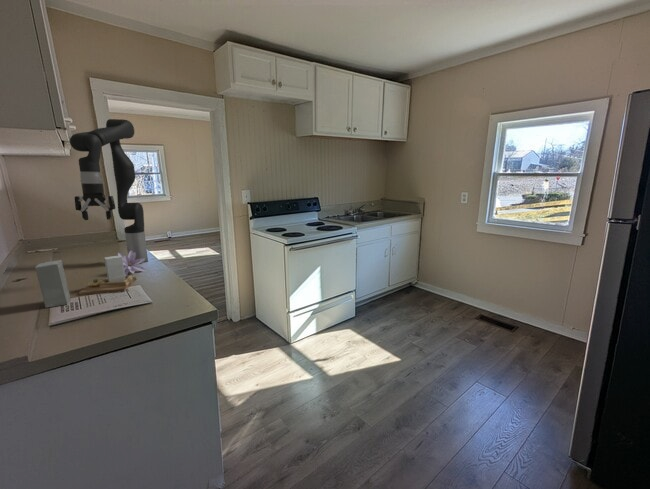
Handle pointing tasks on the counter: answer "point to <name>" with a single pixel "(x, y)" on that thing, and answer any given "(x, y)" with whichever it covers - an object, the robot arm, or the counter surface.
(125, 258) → the water lily
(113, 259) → the skincare box
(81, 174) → the robot arm
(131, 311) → the counter surface
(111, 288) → the carrier board
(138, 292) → the counter surface
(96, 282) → the brass knob disc
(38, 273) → the skincare box
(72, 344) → the counter surface
